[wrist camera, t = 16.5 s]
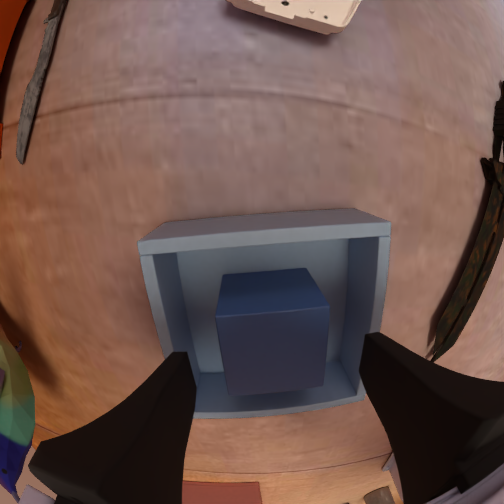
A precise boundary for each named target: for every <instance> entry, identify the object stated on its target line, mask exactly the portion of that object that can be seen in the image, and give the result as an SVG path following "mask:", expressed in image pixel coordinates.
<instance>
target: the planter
mask: <svg viewBox="0 0 504 504" xmlns="http://www.w3.org/2000/svg"><path fill="white" fill-rule="evenodd" d="M364 500H365V503H366V504H395V502H394V500H393V497H392V494H391V492H390V489H389V487H384V488H380V489H377V490H375V491H373V492H371V493H369V494H367V495H366V496H365V497H364Z"/></svg>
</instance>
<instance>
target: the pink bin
mask: <svg viewBox="0 0 504 504" xmlns="http://www.w3.org/2000/svg"><path fill="white" fill-rule="evenodd" d="M182 504H262V499H261V493H260V488H259V482H251V483H206V482H190V481H183V483H182Z"/></svg>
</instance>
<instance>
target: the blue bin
mask: <svg viewBox="0 0 504 504" xmlns="http://www.w3.org/2000/svg"><path fill="white" fill-rule="evenodd" d="M390 235H391V222H390V221H387V220H384V219H382V218H379V217H377V216H374V215H371V214H369V213H366V212H363V211H361V210H358V209H355V208H350V209H328V210H309V211H292V212H277V213H263V214H250V215H238V216H226V217H215V218H204V219H194V220H184V221H175V222H166V223H163V224H162V225H160V226H159V227H157V228H156V229H155V230H153V231H152V232H150V233H149V234H147V235H146V236H144V237H143V238H141V239H140V240H139V241H137V245H138V251H139V255H141V256H140V262H141V267H142V272H143V276H144V281H145V286H146V290H147V294H148V299H149V303H150V307H151V311H152V315H153V319H154V322H155V326H156V330H157V333H158V337H159V340H160V344H161V347H162V351H163V354H164V357H165V359H166V358H167V357H168V356H169V355H170V354H171V353H172V352H187V353H188V357H189V361H190V364H191V368H192V372H193V376H194V379H195V383H196V386H197V391H196V403H195V411H194V415H193V418H198V419H224V418H249V417H263V416H274V415H284V414H292V413H299V412H306V411H313V410H319V409H324V408H330V407H335V406H340V405H345V404H349V403H354V402H358V401H362V400H364V398H365V394H366V391H365V388H364V386H363V383H362V380H361V377H360V374H359V366H360V360H361V355H362V349H363V343H364V337H365V334H368V333H373V332H380V327H381V321H382V315H383V308H384V301H385V294H386V286H387V276H388V266H389V254H390V239H391V237H390ZM296 268H307V270H308V271H309V273H310V275H311V276H312V278H313V279H314V281H315V282H316V284H317V286H318V287H319V289H320V290H321V292H322V294H323V295H324V297H325V298H326V300H327V302H328V303H329V305H330V319H329V333H328V345H327V356H326V366H325V375H324V384H323V386H321V387H315V388H308V389H301V390H294V391H285V392H276V393H266V394H253V395H236V396H229V394H228V390H227V385H226V379H225V374H224V369H223V363H222V358H221V352H220V346H219V340H218V334H217V328H216V322H215V313H216V307H217V302H218V297H219V291H220V286H221V281H222V276H223V275H224V274H236V273H249V272H261V271H273V270H284V269H296Z"/></svg>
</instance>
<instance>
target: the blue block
mask: <svg viewBox="0 0 504 504" xmlns="http://www.w3.org/2000/svg"><path fill="white" fill-rule="evenodd" d="M329 319H330V305H329V303H328V302H327V300H326V298H325V297H324V295H323V294H322V292H321V290H320V289H319V287H318V286H317V284H316V282H315V281H314V279H313V278H312V276H311V275H310V273H309V271H308V270H307V268H296V269H284V270H273V271H261V272H249V273H236V274H224V275H223V276H222V281H221V286H220V291H219V297H218V302H217V307H216V313H215V322H216V328H217V334H218V340H219V346H220V352H221V358H222V363H223V369H224V374H225V379H226V385H227V390H228V394H229V396H236V395H253V394H266V393H276V392H285V391H294V390H301V389H308V388H315V387H321V386H323V384H324V375H325V366H326V356H327V345H328V333H329Z"/></svg>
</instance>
